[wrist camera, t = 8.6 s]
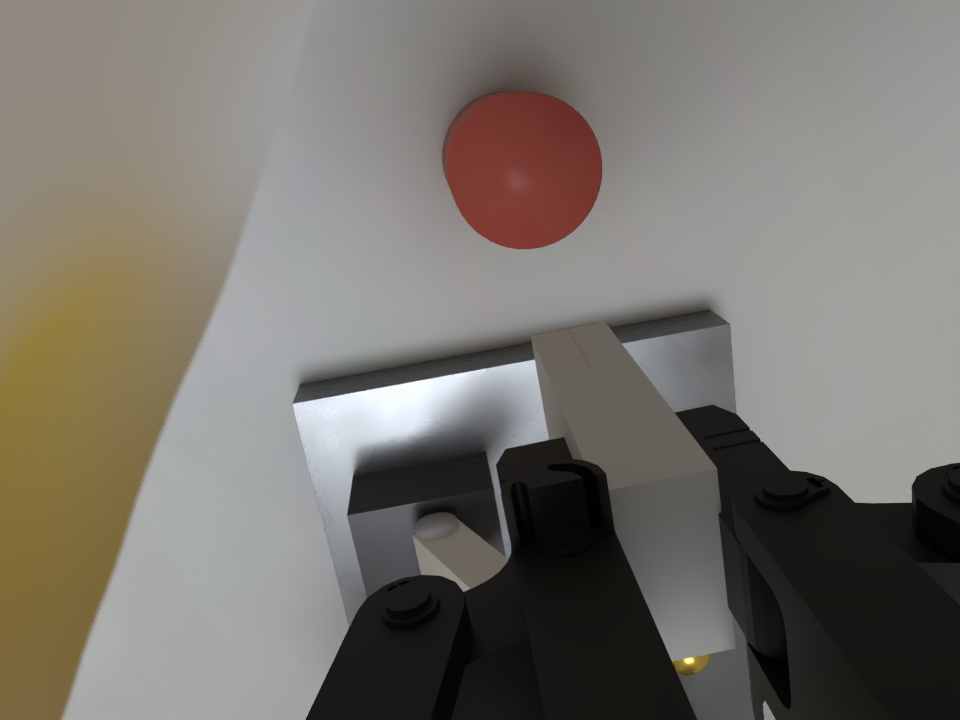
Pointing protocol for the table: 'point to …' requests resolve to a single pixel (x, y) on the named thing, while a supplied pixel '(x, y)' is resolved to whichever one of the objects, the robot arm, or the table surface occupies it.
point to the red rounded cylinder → (522, 168)
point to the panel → (499, 425)
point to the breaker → (454, 551)
